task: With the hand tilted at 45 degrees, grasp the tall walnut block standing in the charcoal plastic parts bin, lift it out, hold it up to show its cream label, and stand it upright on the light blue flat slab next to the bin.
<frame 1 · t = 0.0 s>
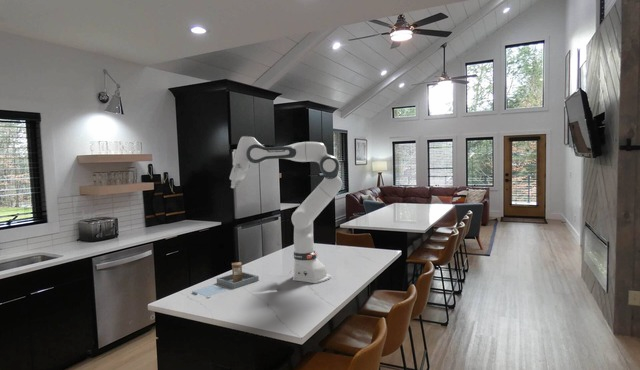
hand: (234, 187, 216), 52 cm above the kitchen island, fingers open, 8 cm apart
light blue flat slab: (210, 292, 197), on the kitchen island
walnut block: (237, 281, 209), point 1 cm above the kitchen island, touching parts bin
parts bin: (237, 283, 209), on the kitchen island
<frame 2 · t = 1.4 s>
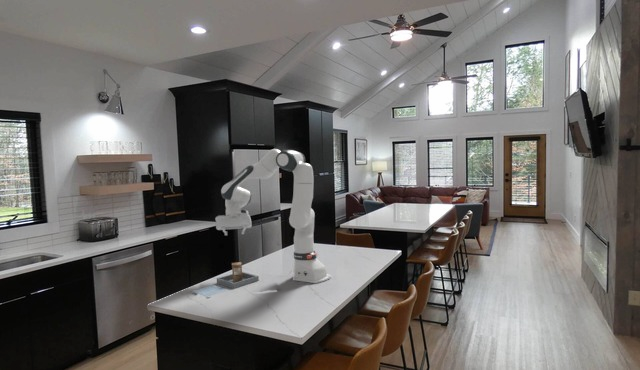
hand: (234, 234, 220), 25 cm above the kitchen island, fingers open, 8 cm apart
nothing on the kitchen island moved.
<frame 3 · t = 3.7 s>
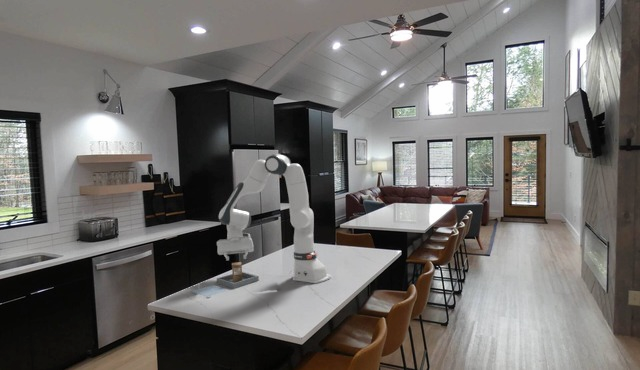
hand: (236, 259, 214), 12 cm above the kitchen island, fingers open, 8 cm apart
nothing on the kitchen island moved.
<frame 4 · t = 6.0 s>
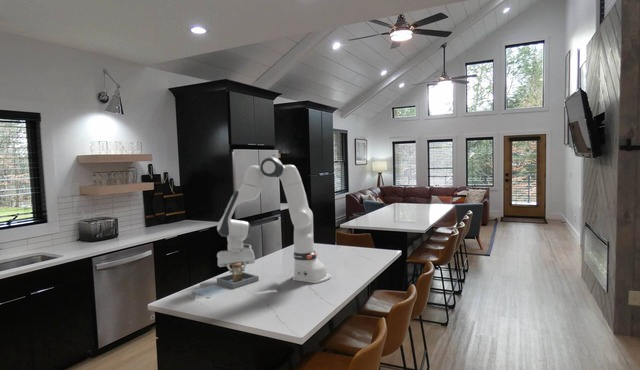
hand: (237, 271, 208), 7 cm above the kitchen island, fingers closed on walnut block, 5 cm apart
walnut block: (237, 281, 209), point 1 cm above the kitchen island, touching gripper, parts bin
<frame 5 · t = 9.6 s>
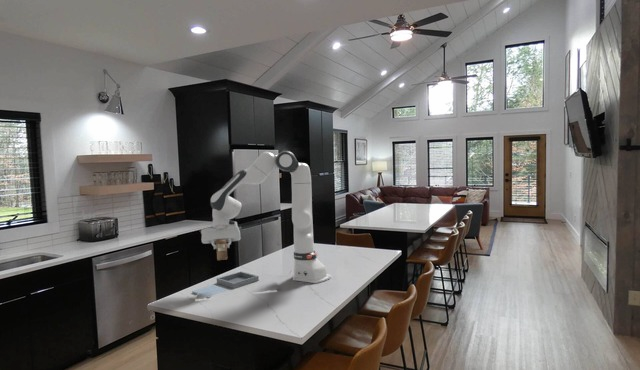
hand: (221, 248, 201), 21 cm above the kitchen island, fingers closed on walnut block, 5 cm apart
walnut block: (222, 258, 202), point 16 cm above the kitchen island, touching gripper
when the fingers open (8 cm above the kitchen island, at t = 13.6 s): walnut block drops 1 cm, resting on light blue flat slab.
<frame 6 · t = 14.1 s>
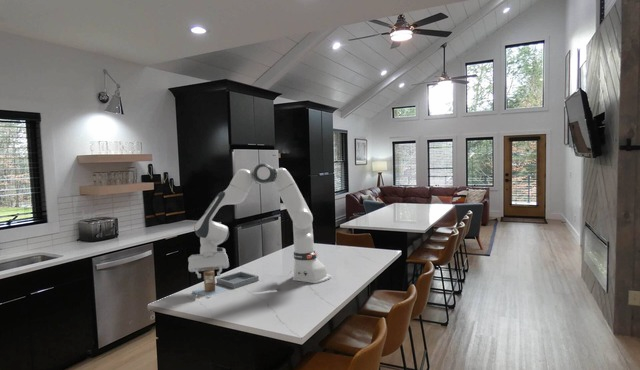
hand: (209, 276, 196), 8 cm above the kitchen island, fingers open, 8 cm apart
walnut block: (210, 290, 197), point 1 cm above the kitchen island, touching light blue flat slab
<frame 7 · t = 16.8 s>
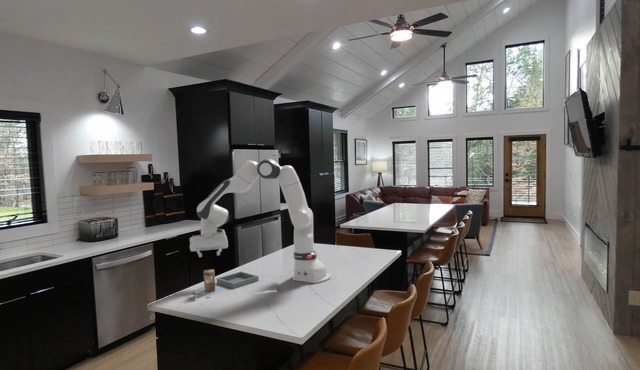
hand: (209, 255, 208), 16 cm above the kitchen island, fingers open, 8 cm apart
nothing on the kitchen island moved.
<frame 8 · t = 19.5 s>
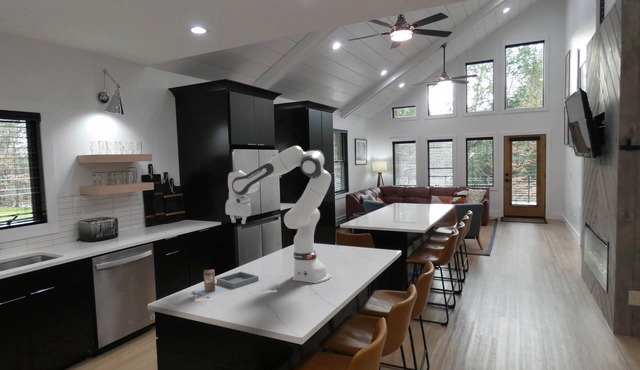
hand: (238, 223, 220), 31 cm above the kitchen island, fingers open, 8 cm apart
nothing on the kitchen island moved.
at the end: walnut block inside the target area on the light blue flat slab (0.1 cm from its centre), point 1.0 cm above the light blue flat slab's base; walnut block tilted 0°; the gripper is holding nothing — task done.
